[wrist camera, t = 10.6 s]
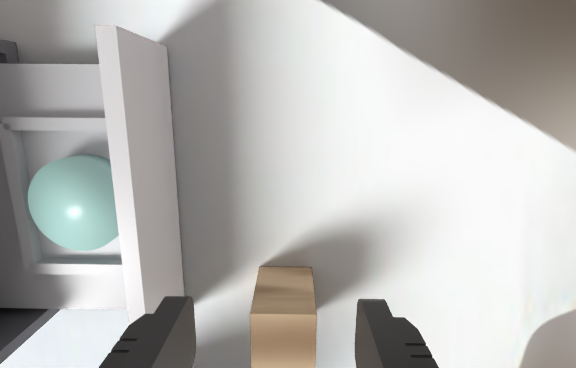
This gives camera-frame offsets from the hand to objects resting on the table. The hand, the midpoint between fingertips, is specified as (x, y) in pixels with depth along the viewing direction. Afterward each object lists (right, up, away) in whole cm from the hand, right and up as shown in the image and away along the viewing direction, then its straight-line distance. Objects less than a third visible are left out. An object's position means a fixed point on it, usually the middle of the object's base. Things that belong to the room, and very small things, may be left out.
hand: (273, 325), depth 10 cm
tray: (-15, +4, +15) cm, 22 cm away
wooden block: (0, -4, +17) cm, 17 cm away
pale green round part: (-13, +3, +13) cm, 19 cm away
